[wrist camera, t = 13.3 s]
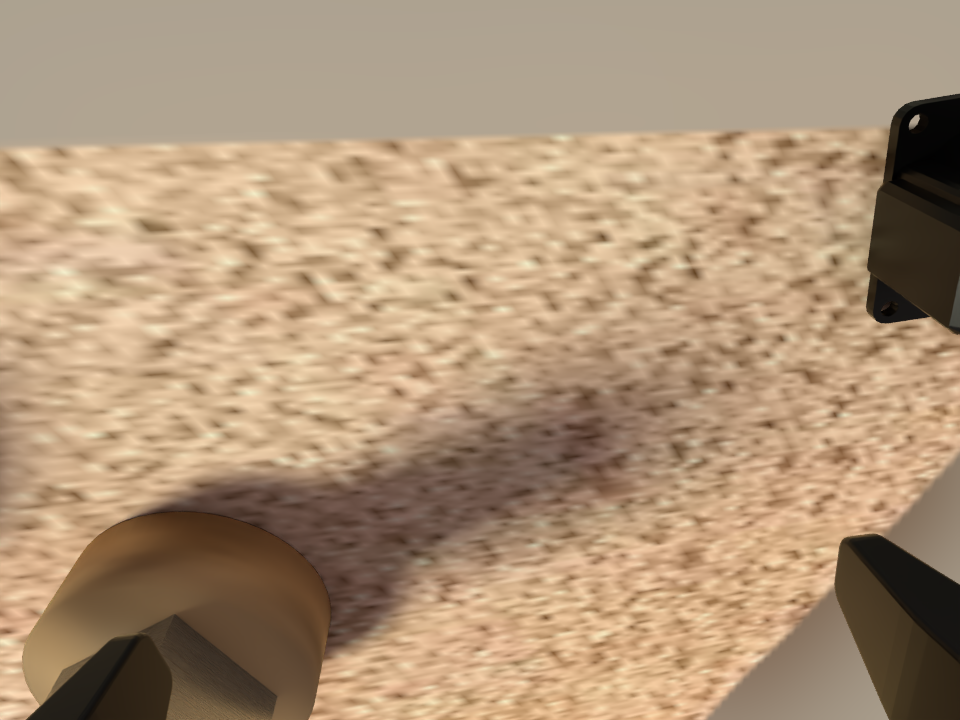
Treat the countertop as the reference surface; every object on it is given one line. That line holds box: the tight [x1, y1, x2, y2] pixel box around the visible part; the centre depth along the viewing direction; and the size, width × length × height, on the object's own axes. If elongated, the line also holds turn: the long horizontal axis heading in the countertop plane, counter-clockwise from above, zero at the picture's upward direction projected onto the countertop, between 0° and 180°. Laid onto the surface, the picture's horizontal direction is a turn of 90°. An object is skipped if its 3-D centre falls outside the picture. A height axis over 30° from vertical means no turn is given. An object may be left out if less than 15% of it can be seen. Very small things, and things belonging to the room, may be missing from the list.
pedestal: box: [22, 512, 331, 720], centre depth 26 cm, size 10×10×4 cm
